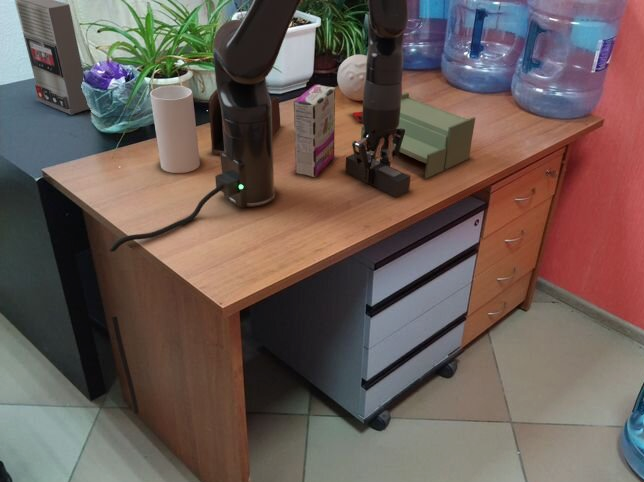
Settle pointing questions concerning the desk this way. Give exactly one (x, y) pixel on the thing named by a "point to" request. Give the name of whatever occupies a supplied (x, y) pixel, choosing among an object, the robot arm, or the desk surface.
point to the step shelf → (433, 135)
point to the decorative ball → (352, 76)
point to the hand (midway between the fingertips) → (376, 179)
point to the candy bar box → (314, 130)
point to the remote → (381, 176)
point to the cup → (175, 128)
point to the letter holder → (217, 122)
